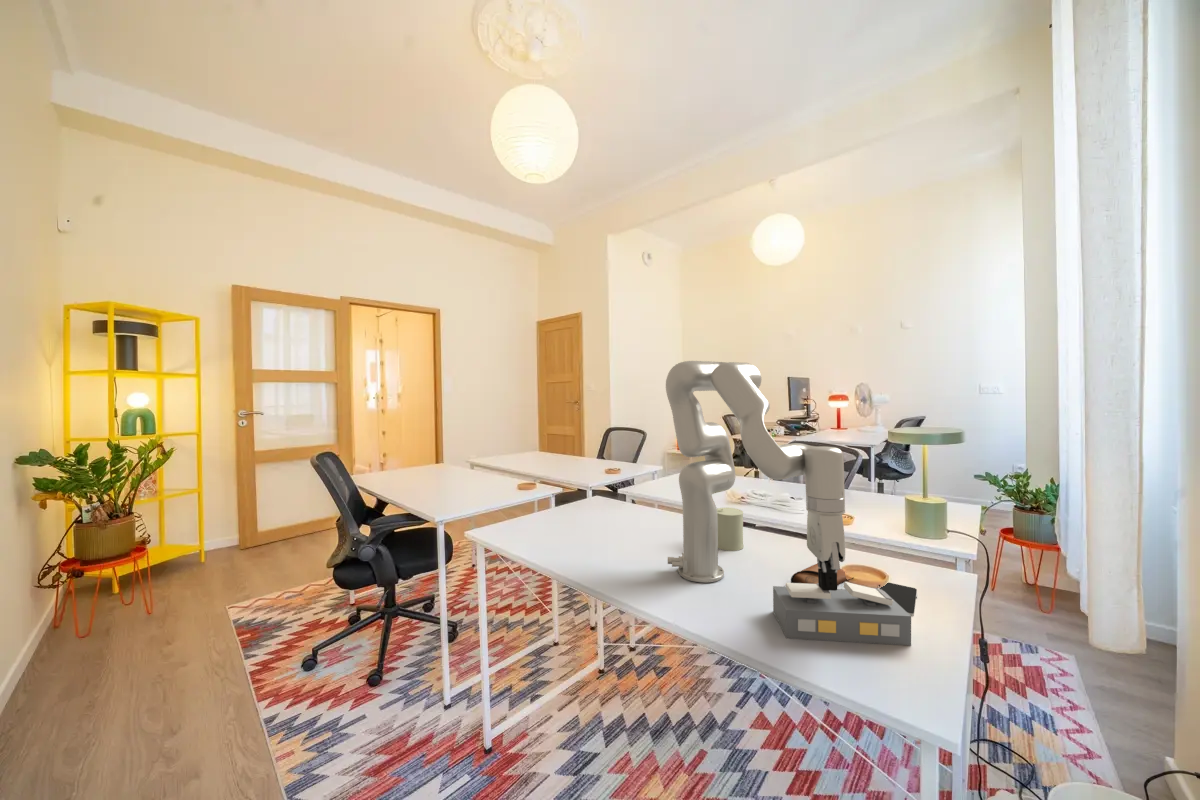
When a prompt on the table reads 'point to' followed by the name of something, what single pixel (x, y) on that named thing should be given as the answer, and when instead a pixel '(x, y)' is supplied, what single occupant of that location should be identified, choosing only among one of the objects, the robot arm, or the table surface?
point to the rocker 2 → (868, 593)
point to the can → (730, 529)
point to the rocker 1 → (807, 591)
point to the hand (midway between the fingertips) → (827, 588)
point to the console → (841, 618)
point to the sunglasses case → (814, 576)
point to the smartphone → (902, 596)
